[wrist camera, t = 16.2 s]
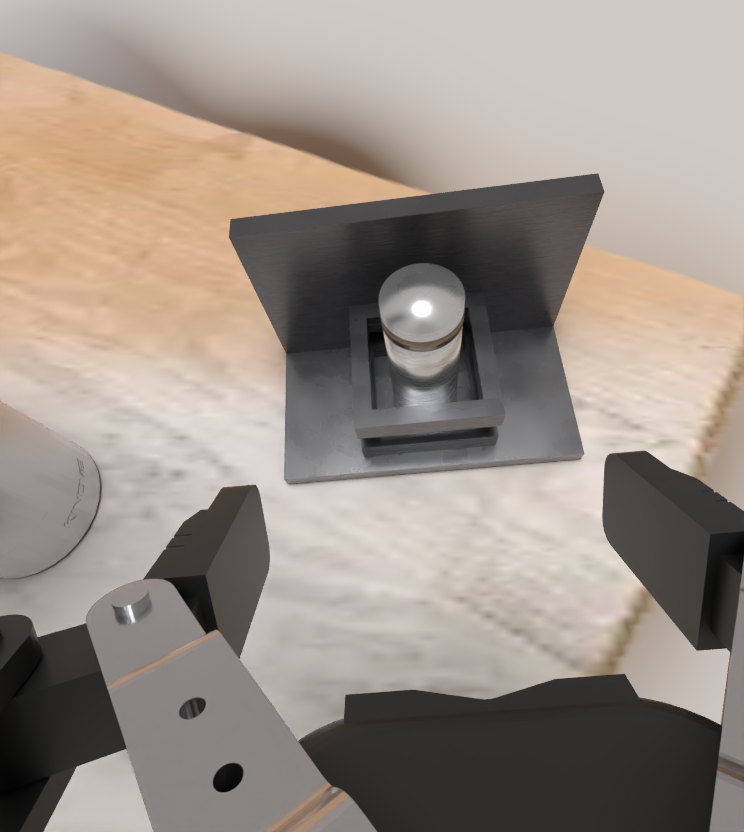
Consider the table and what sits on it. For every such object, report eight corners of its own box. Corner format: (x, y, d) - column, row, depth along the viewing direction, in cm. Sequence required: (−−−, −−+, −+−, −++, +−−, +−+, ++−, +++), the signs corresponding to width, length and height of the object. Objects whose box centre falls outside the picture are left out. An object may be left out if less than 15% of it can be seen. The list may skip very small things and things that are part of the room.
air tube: (395, 425, 32) (380, 339, 23) (391, 369, 34) (375, 267, 25) (460, 420, 32) (471, 329, 23) (453, 363, 33) (460, 258, 24)
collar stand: (288, 484, 32) (215, 401, 21) (290, 325, 37) (232, 193, 26) (579, 459, 31) (660, 357, 20) (541, 298, 36) (589, 147, 25)
